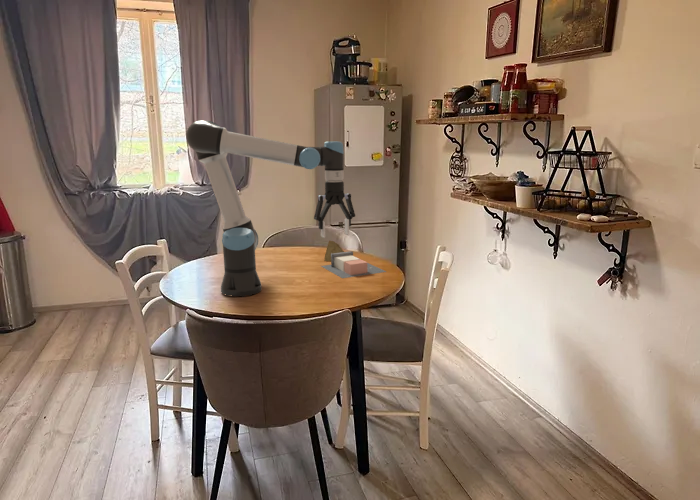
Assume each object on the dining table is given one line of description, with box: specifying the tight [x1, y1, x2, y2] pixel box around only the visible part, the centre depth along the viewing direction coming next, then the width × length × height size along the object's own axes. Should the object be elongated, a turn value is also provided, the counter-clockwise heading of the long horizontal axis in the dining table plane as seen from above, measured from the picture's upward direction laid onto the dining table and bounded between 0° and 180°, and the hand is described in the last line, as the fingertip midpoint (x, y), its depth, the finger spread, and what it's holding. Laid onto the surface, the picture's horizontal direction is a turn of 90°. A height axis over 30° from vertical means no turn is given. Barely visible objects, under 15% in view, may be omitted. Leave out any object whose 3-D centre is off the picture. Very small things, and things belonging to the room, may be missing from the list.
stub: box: [345, 259, 368, 275], centre depth 211 cm, size 8×6×4 cm
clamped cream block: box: [330, 250, 361, 271], centre depth 220 cm, size 11×12×6 cm
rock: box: [324, 240, 345, 262], centre depth 233 cm, size 11×9×10 cm
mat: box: [320, 262, 387, 279], centre depth 218 cm, size 21×22×1 cm
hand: (335, 235), depth 204 cm, fingers open, 10 cm apart
